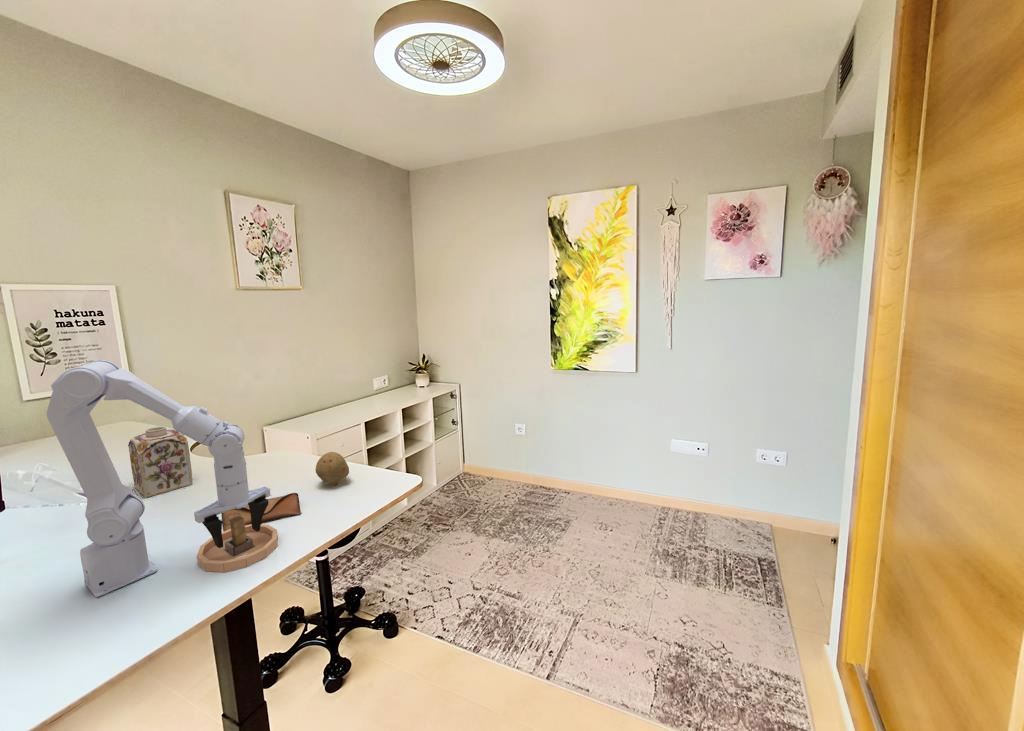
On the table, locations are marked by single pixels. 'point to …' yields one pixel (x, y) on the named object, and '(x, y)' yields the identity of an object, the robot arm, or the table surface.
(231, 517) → the sunglasses case
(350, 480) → the table surface
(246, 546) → the hollow square box
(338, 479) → the coconut
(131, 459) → the decorative jar
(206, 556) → the jar dish
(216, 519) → the robot arm
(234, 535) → the brown long rectangular block
